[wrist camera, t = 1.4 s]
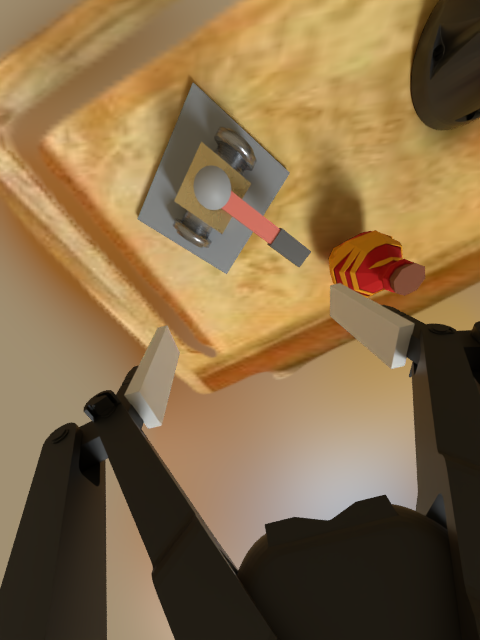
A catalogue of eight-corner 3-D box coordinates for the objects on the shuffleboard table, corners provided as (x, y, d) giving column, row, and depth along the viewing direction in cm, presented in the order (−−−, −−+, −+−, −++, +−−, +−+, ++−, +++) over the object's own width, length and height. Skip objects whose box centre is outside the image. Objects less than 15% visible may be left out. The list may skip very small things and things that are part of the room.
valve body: (216, 130, 27) (217, 99, 20) (257, 166, 30) (271, 150, 22) (171, 224, 32) (159, 227, 25) (210, 249, 34) (209, 258, 27)
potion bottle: (373, 224, 36) (465, 230, 23) (361, 280, 41) (432, 311, 28) (317, 230, 35) (378, 239, 22) (312, 286, 40) (360, 321, 27)
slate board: (193, 86, 25) (193, 82, 25) (287, 174, 31) (289, 172, 30) (139, 219, 31) (137, 219, 31) (226, 272, 37) (226, 274, 36)
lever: (188, 196, 23) (186, 194, 21) (205, 160, 22) (205, 155, 20) (290, 269, 29) (296, 272, 27) (309, 244, 27) (316, 246, 26)
